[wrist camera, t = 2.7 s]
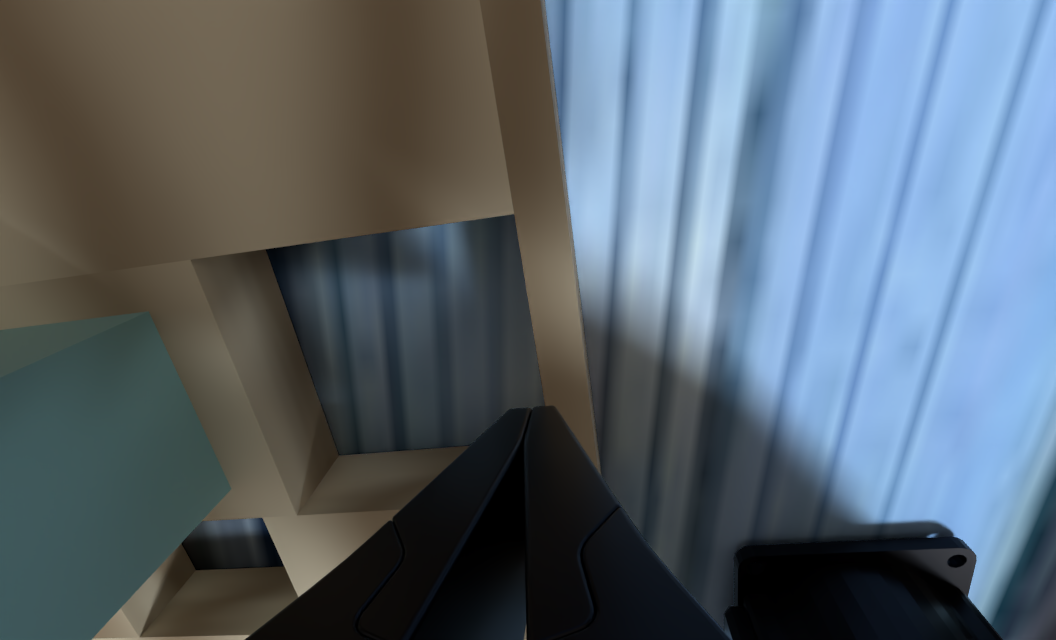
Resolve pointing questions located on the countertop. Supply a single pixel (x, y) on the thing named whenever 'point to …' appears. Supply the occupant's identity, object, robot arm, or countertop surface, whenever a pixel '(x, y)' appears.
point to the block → (93, 471)
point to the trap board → (272, 228)
